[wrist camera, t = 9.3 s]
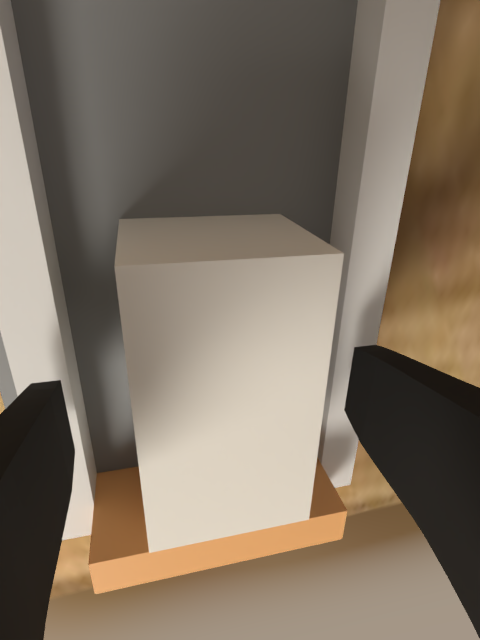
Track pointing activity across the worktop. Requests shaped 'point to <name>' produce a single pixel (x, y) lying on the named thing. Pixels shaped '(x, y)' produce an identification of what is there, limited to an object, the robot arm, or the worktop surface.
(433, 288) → the worktop surface
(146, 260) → the block
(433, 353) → the worktop surface
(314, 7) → the rail mount board
